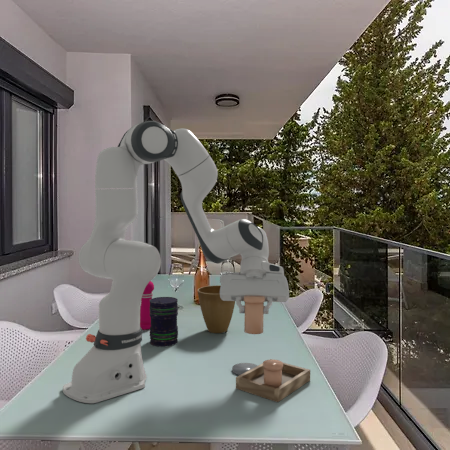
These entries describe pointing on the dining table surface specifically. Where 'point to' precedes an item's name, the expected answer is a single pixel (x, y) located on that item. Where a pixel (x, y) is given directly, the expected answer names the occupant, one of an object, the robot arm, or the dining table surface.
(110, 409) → the dining table surface
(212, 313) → the plant pot
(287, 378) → the wooden tray
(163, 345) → the storage jar
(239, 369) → the grey disc
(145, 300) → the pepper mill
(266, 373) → the small pot
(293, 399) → the dining table surface
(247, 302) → the tall pot
